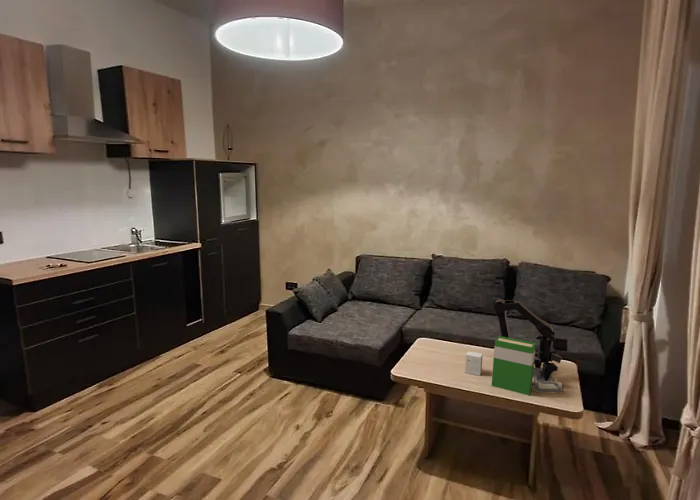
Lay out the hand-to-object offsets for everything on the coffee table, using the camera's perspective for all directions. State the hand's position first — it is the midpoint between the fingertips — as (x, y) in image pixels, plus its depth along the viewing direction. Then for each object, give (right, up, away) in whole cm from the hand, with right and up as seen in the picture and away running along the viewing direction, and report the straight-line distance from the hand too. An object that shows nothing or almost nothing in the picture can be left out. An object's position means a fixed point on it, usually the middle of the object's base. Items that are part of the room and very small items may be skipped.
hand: (542, 376), depth 226 cm
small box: (-34, 0, +7) cm, 35 cm away
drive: (0, -2, 0) cm, 2 cm away
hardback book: (-20, -3, -10) cm, 22 cm away
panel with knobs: (-2, -3, -10) cm, 10 cm away
